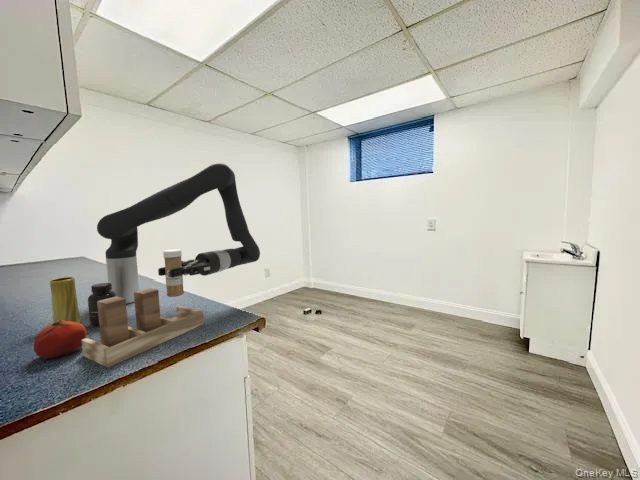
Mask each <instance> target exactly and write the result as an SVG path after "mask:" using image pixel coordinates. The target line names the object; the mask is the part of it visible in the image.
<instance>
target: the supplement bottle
mask: <svg viewBox="0 0 640 480" xmlns="http://www.w3.org/2000/svg"><path fill="white" fill-rule="evenodd" d="M90 286H91V290H90V291H91V294H90V295H89V296H88V298H87V306H88V316H89V317H88V318H89V324H90V326H92V327H100V325H99V315H98V305H97V301H100V300H104V299H108V298H112V297H116V296H117V295H116V293H115V292H113V291H111V290H112V284H111V283H108V282H102V283H101V282H100V283H96V284H92V285H90Z"/></svg>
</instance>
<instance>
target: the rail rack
mask: <svg viewBox="0 0 640 480" xmlns="http://www.w3.org/2000/svg"><path fill="white" fill-rule="evenodd" d="M159 295H160V294H159V289H158V288H157V289H156V288H151V287H148V288H145V289H139V291H136V292H134V301H135V302H134V311H135V313H134V314H135V322H136V323H135V324H136V325H135V326H136V328H134V327H131V326H129V323H128V322H129V321H128V311H127V304H126V299H125V298H121V297H117V296H116V297H112V298H108V299H104V300H100V301H97V305H98V315H99V325H100V326H99V336H100V342H98V341H95V340H93V339H90V338H87V337H86V338H85V339H82V340H81V341H82V346H81V348H82V349H81V350H82V356H83V357H85V358H87V359H88V360H91V361H93V362H95V363H97V364H99V365H101V366H104V367H106V368H111V367H113V366H115V365H117V364H119V363H122V362H123V361H126V360H128V359H130V358H133V357H135V356H137V355H139V354H141V353H144V352H147V351H148V350H150V349H152V348H154V347H156V346H159V345H161V344H163V343H165V342H168V341H170V340H171V339H174V338H176V337H178V336H181V335H182V334H185V333H188V332H190V331H192V330H194V329H196V328H198V327H200V326H203V325H204V324H205V319H204V318H205V316H204V311H203V310H199V309H196V308H191V307H186V306H183V305H177V306H175V307H176V316H173V317H171V318H168V317H165V316H162V315H161V309H160V308H161V306H160V296H159Z"/></svg>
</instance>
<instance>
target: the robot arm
mask: <svg viewBox="0 0 640 480" xmlns="http://www.w3.org/2000/svg"><path fill="white" fill-rule="evenodd" d="M236 181H237V180H236V175H235V172H234V171H233V170H232V168H231V167H229V166H228V165H226V163H222V162H216V163H212V164H210V165H208V166H207V167H205V168H204V169H202V170H201V171H199V172H198V173H196V174H194V175H192V176H191V177H189V178H187V179H183V180H181V181H180V182H177V183H175V184H172V185H171V186H168V187H166V188H164V189H161V190H160V191H157V192H156V193H154V194H152V195H149V196H148V197H145V198H144V199H142V200H140V201H138V202H137V203H135V204H132V205H131V206H128V207H126V208H124V209H120V210H118V211H116V212H112V213H108V214H107V215H104V216H103V217H102V218H100V219H99V221H98V223H97V225H96V231H97V234H99V236H101V237H102V238H104V239H108V240H111V241H110V242H111V243H110V246H109V247H108V248H107V249H106V250H105V263H106V272H107V283H111V284H112V290H111V291H113V292H115V293H116V295H117V297H121V298H125V299H126V305H127V304H131V303H135V301H134V292H136V291H140V284H139V283H140V281H139V272H138V260H137V259H138V258H137V250H138V247H139V235H138V234H139V232H138V227H140V226H142V225H144V224H148V223H151V222H154V221H157V220H162V219H163V218H166V217H169V216H172V215H174V214H176V213H178V212H180V211H183V210H184V209H185V208H187V207H188V206H190V205H191V204H192V203H193V202H194V201H196V200H197V199H198V198H199V197H201V196H202V195H204V194H206V193H209V192H211V191H214V190H217V191H218V193H219V196H220V198H221V200H222V202H223V208H224V213H225V214H224V215H225V219H226V224H227V227H228V230H229V233H230V237H231V239H232V241H234V242H240V243H241V245H242V246H239V247H236V248H235V247H234V248H226V249H218V250H217V249H216V250H210V251H205V252H201V253H198V254H197V255H196V256H195V258H194V259H188V260H185V261H184V260H181V264H182V267H181V268H176V269H171V270H170V271H169V275H170V277H172V278H173V277H177V276H181V275H183V276H188V275H189V276H197V275H201V276H203V277H204V276H205V277H207V276H209V275H213V274H216V273H220V272H221V273H222V272H223V271H225V270H228V269H232V268H235V267H236V266H243V265H247V264H251V263H254V262H258V261H259V260H260V256H261V251H260V247H259V245H258V244H257V242H256V241H255V239H254V237H253V236H252V235H251V233H250V230H249V227H248V224H247V221H246V218H245V215H244V213H243V212H244V211H243V209H242V206H241V203H240V199H239V195H238V189H237V182H236ZM157 271H158V276H160V277H161V276H162V277H163V276H165V274H166V273H165V266H164V267H159V268H158V269H157Z"/></svg>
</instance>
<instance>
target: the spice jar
mask: <svg viewBox="0 0 640 480" xmlns="http://www.w3.org/2000/svg"><path fill="white" fill-rule="evenodd" d="M162 253H163V258H164V267H165V273H166V274H165V275H164V276H165V285H166V296H167V297H168V298H175V297H181V296H183V295H184V293H185V291H184V277H183V276H184V274H183V275H181V276H177V277H173V278H172V277H170V275H169V271H170V270H171V269H176V268H181V267H182V264H181V261H182V254H183V253H182V250H181V249H179V248H176V249H175V248H173V249H172V248H171V249H165V250H163V252H162Z"/></svg>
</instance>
